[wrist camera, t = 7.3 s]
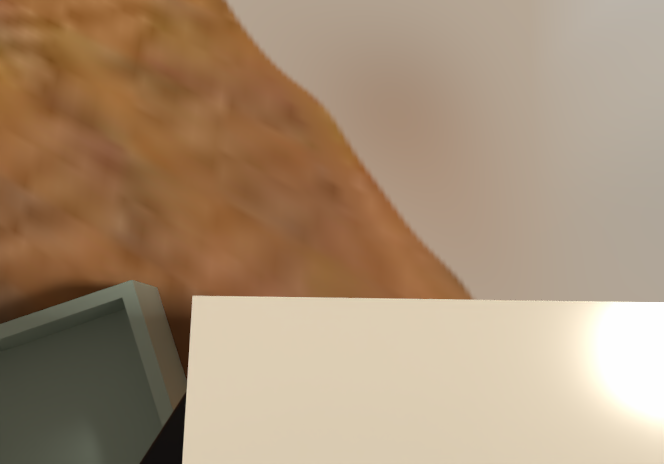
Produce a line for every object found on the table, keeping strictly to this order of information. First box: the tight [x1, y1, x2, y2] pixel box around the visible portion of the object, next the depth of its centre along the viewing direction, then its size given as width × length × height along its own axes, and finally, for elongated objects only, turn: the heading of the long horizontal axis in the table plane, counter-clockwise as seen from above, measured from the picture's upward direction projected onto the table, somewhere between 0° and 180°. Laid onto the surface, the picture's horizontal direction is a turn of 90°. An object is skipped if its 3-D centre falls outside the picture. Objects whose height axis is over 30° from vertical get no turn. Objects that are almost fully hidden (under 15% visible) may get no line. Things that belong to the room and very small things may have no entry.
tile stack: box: [182, 296, 664, 464], centre depth 9 cm, size 5×5×12 cm
